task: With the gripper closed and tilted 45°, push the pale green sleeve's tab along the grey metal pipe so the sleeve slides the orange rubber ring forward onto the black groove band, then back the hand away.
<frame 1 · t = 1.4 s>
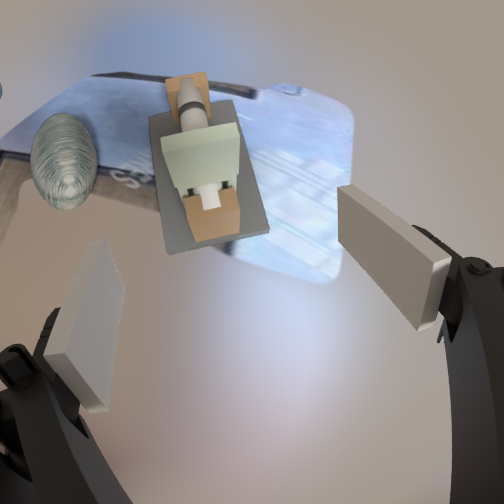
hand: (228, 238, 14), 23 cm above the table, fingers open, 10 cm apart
sleeve: (202, 161, 29), point 10 cm above the table, slide at 0.0 cm
rig: (202, 170, 40), on the table
grey rounded lump: (75, 174, 39), on the table
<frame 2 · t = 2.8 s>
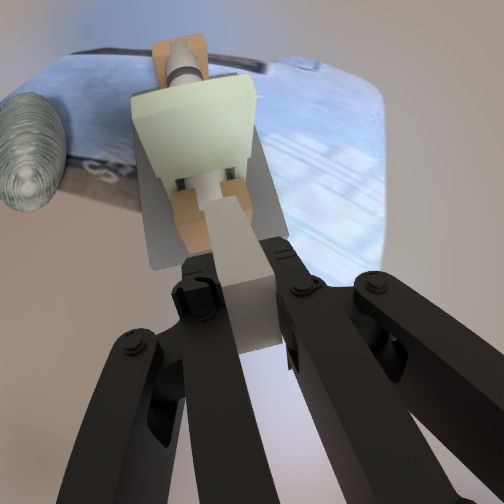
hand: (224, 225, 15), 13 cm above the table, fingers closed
sleeve: (198, 139, 20), point 10 cm above the table, slide at 0.0 cm
rig: (199, 159, 30), on the table
grey rounded lump: (43, 167, 30), on the table
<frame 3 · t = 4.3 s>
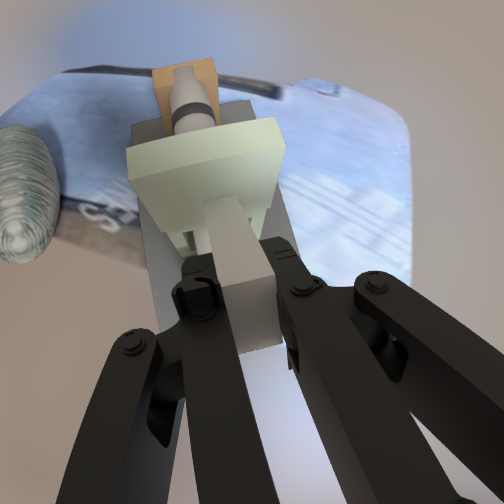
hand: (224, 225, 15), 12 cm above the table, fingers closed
sleeve: (208, 185, 17), point 10 cm above the table, slide at 1.6 cm, touching gripper, ring
rig: (209, 205, 28), on the table
grey rounded lump: (36, 207, 27), on the table
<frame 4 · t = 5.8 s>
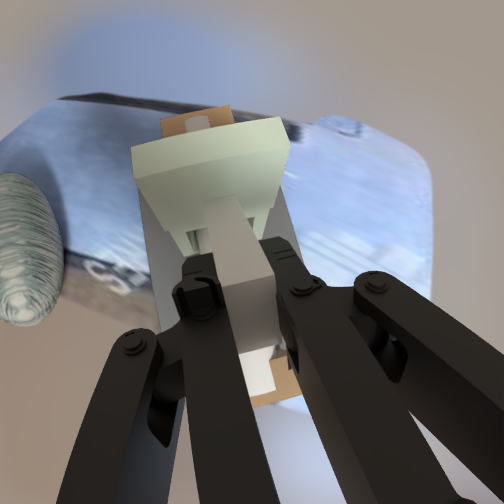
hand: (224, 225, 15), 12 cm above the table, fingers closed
sleeve: (211, 184, 17), point 10 cm above the table, slide at 7.4 cm, touching gripper, ring
rig: (226, 269, 26), on the table
grey rounded lump: (37, 259, 26), on the table
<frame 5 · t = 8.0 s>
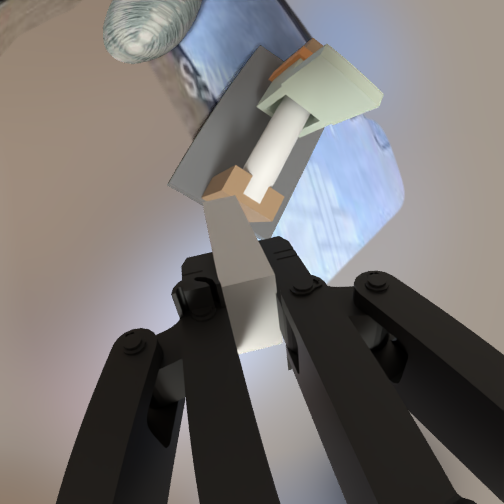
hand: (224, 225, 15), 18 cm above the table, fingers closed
ring: (310, 82, 28), point 7 cm above the table, slide at 6.9 cm, touching sleeve
sleeve: (317, 89, 25), point 10 cm above the table, slide at 7.4 cm, touching ring
rig: (259, 137, 34), on the table
grey rounded lump: (150, 29, 28), on the table
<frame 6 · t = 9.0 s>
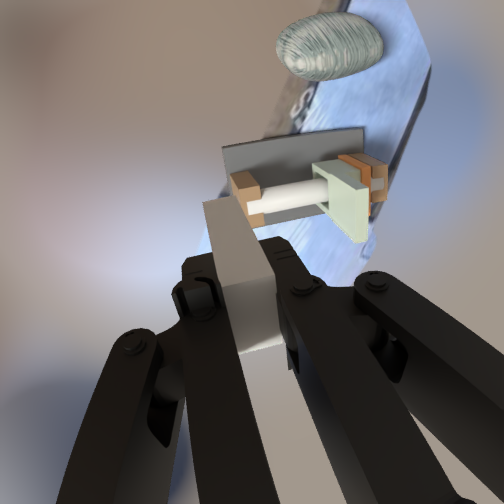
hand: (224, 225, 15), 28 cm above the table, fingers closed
ring: (354, 184, 39), point 7 cm above the table, slide at 6.9 cm, touching sleeve
sleeve: (347, 195, 36), point 10 cm above the table, slide at 7.4 cm, touching ring
rig: (298, 175, 44), on the table
grey rounded lump: (317, 48, 36), on the table
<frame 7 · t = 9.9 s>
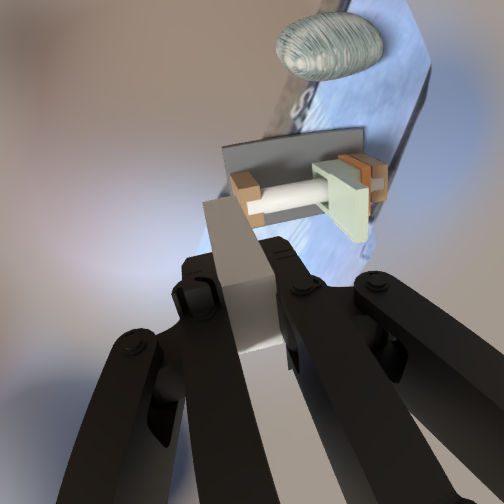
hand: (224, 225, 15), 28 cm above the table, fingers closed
ring: (354, 184, 39), point 7 cm above the table, slide at 6.9 cm, touching sleeve
sleeve: (347, 195, 36), point 10 cm above the table, slide at 7.4 cm, touching ring
rig: (298, 175, 44), on the table
grey rounded lump: (317, 48, 36), on the table
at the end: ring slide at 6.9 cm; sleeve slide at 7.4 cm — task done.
